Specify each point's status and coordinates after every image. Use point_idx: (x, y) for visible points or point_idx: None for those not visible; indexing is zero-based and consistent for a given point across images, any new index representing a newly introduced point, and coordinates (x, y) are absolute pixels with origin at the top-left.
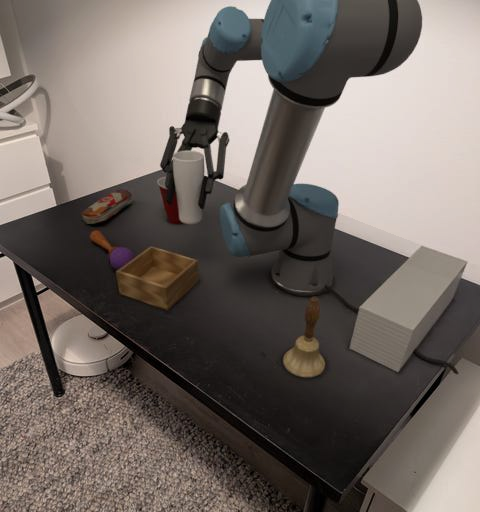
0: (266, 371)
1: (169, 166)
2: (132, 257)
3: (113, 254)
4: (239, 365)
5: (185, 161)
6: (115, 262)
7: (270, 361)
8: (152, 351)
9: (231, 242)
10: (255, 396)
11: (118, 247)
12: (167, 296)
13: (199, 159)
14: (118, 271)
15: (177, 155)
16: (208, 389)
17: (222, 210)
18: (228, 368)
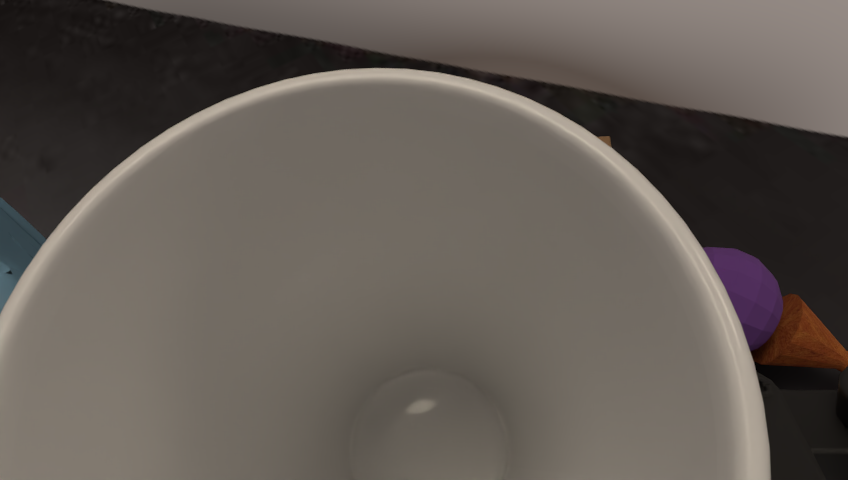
0: (28, 117)
1: (770, 415)
2: None
3: (745, 256)
4: (100, 103)
5: (254, 90)
6: (707, 247)
7: (23, 151)
8: (329, 45)
9: (35, 236)
10: (41, 45)
11: (792, 334)
12: None
13: (3, 312)
14: (601, 139)
15: (703, 439)
16: (149, 16)
17: (7, 264)
18: (124, 84)
